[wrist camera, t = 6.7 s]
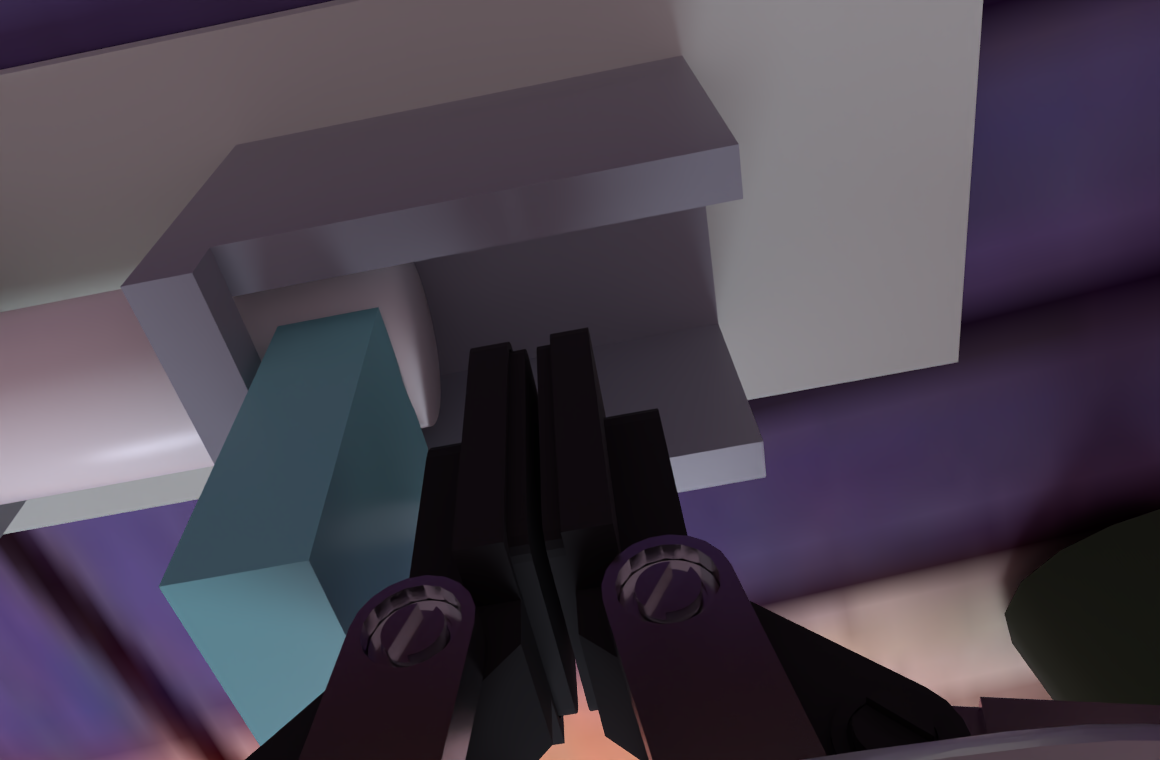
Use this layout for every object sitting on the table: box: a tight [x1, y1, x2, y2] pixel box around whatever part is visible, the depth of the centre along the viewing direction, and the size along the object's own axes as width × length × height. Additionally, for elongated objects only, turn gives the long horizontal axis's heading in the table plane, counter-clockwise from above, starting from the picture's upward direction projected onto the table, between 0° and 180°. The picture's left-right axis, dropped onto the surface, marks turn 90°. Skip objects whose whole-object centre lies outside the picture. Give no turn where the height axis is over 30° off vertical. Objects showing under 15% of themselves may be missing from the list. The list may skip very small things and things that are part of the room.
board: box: [0, 0, 983, 534], centre depth 19 cm, size 27×10×1 cm, turn 100°
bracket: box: [120, 56, 766, 493], centre depth 16 cm, size 8×6×6 cm
